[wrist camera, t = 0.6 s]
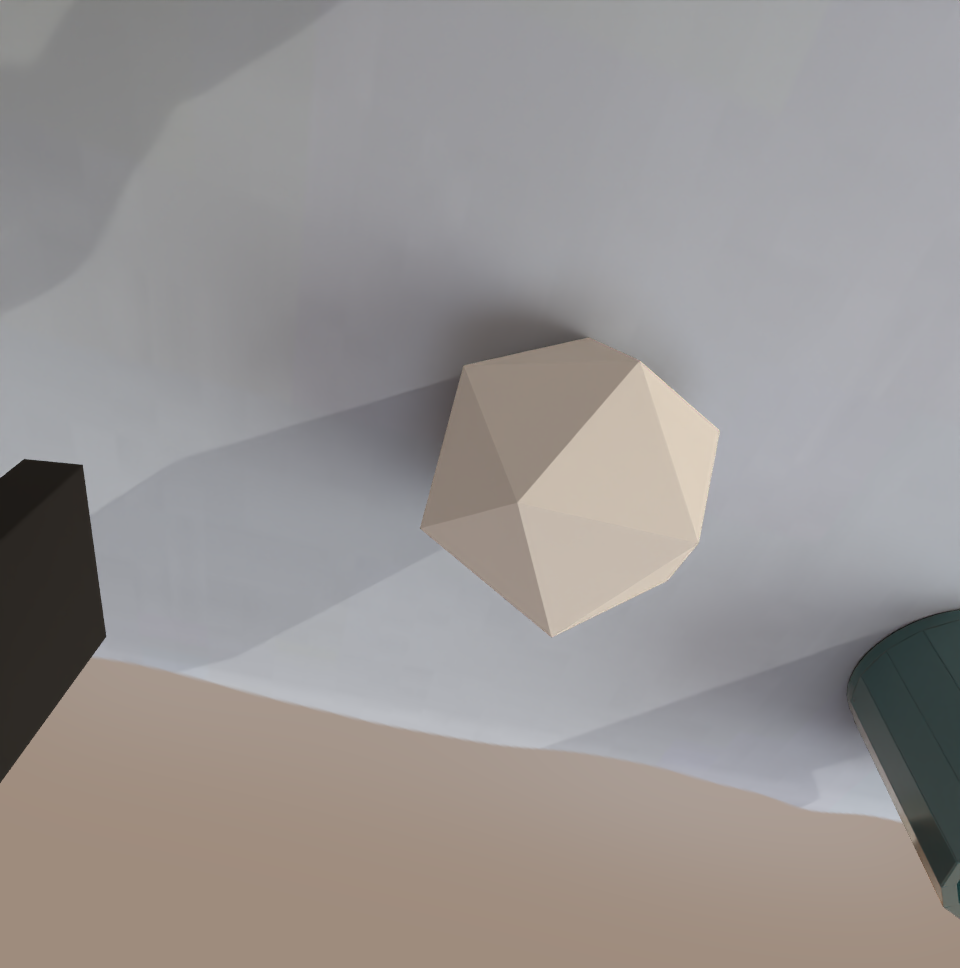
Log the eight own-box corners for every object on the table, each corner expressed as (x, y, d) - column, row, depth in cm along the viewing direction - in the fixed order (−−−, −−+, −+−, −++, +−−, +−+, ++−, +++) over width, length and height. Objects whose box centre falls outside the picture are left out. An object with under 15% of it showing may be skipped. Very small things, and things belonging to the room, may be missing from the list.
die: (528, 538, 34) (733, 662, 27) (340, 541, 28) (542, 701, 21) (589, 332, 32) (829, 410, 25) (402, 287, 26) (648, 373, 19)
